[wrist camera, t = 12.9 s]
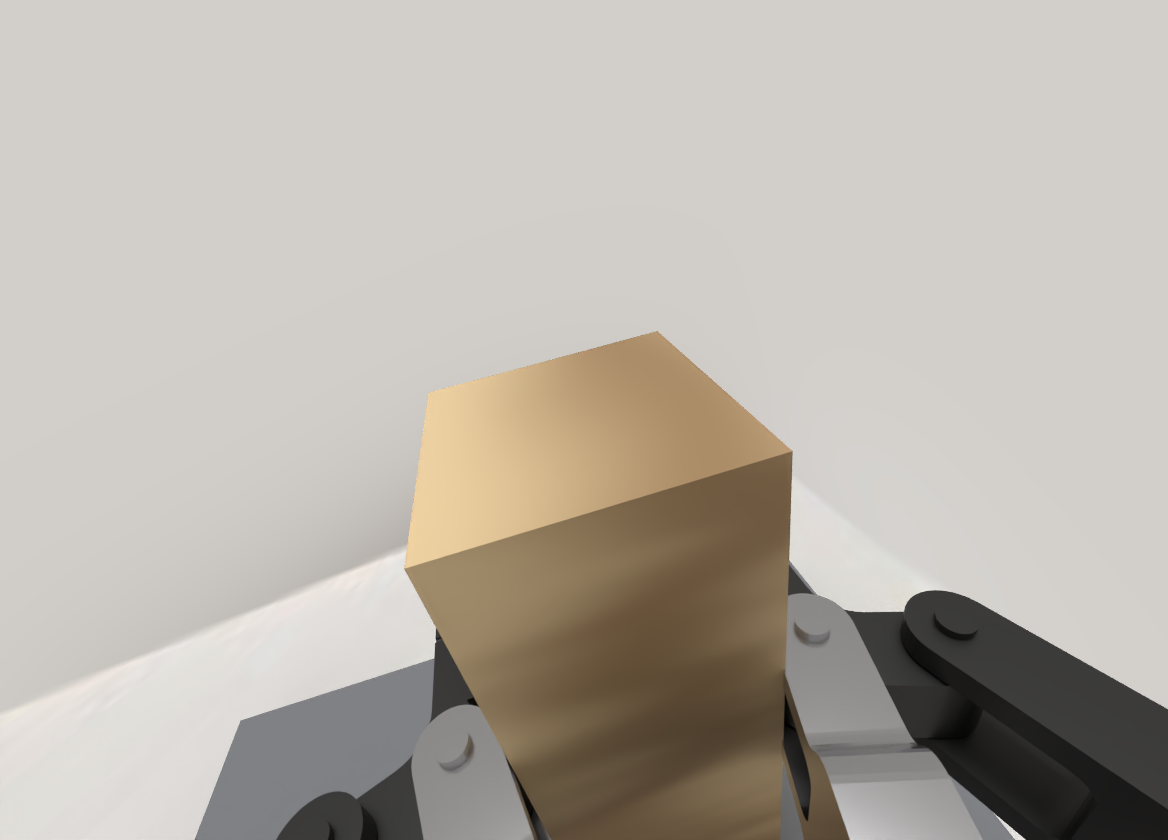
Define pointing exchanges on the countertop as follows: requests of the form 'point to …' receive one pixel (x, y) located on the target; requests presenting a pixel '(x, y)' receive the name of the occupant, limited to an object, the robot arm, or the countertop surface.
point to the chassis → (370, 757)
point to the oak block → (614, 588)
